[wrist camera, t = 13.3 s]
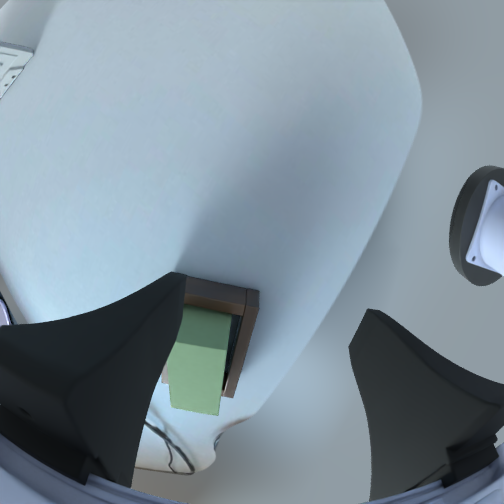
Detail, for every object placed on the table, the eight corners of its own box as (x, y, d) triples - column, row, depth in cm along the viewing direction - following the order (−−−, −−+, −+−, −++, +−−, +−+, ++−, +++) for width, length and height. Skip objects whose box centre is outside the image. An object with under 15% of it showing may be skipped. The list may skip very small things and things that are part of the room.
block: (233, 300, 22) (227, 350, 16) (224, 367, 25) (218, 416, 19) (185, 293, 22) (165, 339, 16) (184, 360, 25) (170, 407, 19)
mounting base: (259, 290, 22) (259, 308, 19) (234, 379, 26) (233, 398, 23) (173, 272, 21) (163, 287, 19) (167, 365, 25) (161, 383, 23)
